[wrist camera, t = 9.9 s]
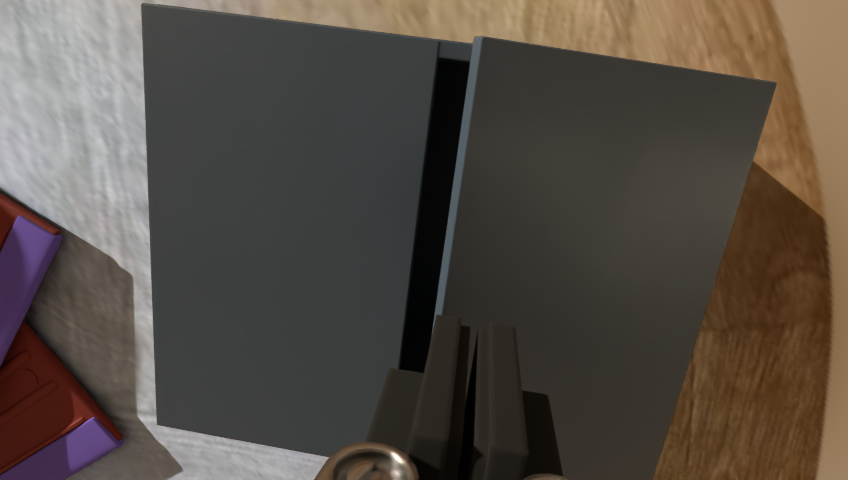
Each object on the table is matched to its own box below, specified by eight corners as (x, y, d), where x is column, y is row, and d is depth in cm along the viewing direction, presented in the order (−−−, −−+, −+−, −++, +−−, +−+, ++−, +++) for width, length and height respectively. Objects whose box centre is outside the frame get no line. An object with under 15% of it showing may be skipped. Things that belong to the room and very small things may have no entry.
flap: (764, 81, 14) (778, 82, 14) (633, 507, 18) (641, 516, 18) (473, 36, 11) (481, 35, 10) (398, 561, 15) (403, 574, 15)
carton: (650, 76, 24) (777, 80, 13) (584, 350, 29) (640, 517, 18) (286, 30, 26) (137, 0, 15) (275, 299, 30) (154, 426, 19)
